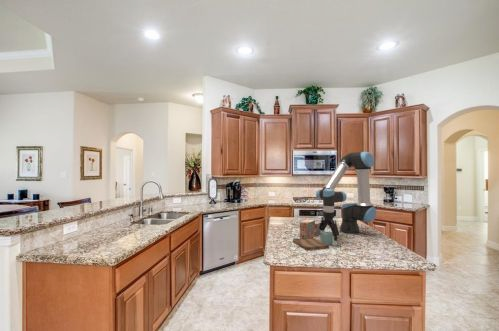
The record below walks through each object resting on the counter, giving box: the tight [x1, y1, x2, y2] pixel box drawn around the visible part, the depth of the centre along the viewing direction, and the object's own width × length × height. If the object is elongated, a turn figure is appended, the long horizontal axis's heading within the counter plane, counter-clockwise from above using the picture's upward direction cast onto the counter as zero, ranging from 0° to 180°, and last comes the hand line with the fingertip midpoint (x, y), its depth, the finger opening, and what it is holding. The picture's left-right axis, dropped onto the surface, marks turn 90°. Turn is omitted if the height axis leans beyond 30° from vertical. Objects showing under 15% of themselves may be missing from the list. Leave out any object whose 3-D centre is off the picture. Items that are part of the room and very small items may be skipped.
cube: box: [320, 231, 333, 246], centre depth 177 cm, size 7×7×7 cm
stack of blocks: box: [299, 219, 321, 239], centre depth 196 cm, size 21×6×12 cm, turn 137°
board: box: [292, 237, 330, 251], centre depth 173 cm, size 16×20×2 cm
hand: (328, 242), depth 177 cm, fingers open, 13 cm apart
